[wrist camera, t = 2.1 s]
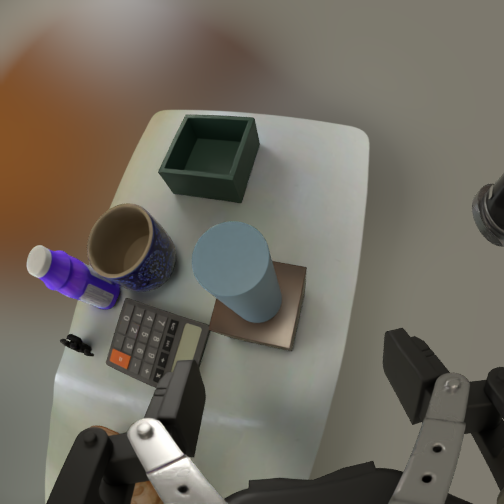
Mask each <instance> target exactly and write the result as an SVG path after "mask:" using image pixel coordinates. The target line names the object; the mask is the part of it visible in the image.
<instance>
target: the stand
mask: <svg viewBox="0 0 504 504" xmlns="http://www.w3.org/2000/svg"><path fill="white" fill-rule="evenodd" d="M272 262H273V266H274V269H275V273H276V277H277V280H278V284H279V287H280V291H281V296H282V302H281V306H280V309H279V310H278V312H277V313H276V315H275V316H274V317H272V318H271V319H269V320H268V321H265V322H261V323H253V322H249V321H247V320H245V319H243V318H242V317H241V316H239V315H238V314H237V313H235V312H234V311H233V310H231V309H230V308H229V307H227V306H226V305H225V304H224V303H222V302H221V301H220V300H218V299H217V298H216V302H215V306H214V309H213V313H212V317H211V321H210V325H209V329H208V330H210V331H213V332H216V333H219V334H221V335H224V336H227V337H230V338H234V339H238V340H243V341H247V342H251V343H256V344H260V345H264V346H269V347H274V348H278V349H283V350H288V351H292V349H293V344H294V340H295V335H296V331H297V326H298V322H299V317H300V312H301V308H302V303H303V298H304V293H305V285H306V270H307V268H306V267H302V266H296V265H291V264H285V263H280V262H274V261H272Z"/></svg>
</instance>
